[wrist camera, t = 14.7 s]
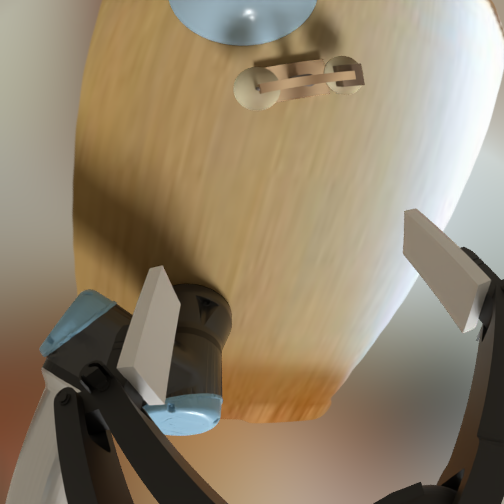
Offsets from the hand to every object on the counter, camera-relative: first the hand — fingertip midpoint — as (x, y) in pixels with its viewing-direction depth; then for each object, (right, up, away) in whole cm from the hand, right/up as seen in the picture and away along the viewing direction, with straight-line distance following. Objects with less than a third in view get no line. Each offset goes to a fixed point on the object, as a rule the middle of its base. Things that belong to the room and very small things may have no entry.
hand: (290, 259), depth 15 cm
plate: (-3, +36, +12) cm, 38 cm away
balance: (+3, +23, +20) cm, 31 cm away
